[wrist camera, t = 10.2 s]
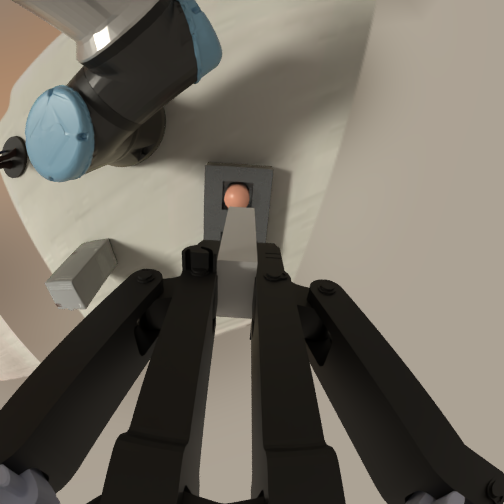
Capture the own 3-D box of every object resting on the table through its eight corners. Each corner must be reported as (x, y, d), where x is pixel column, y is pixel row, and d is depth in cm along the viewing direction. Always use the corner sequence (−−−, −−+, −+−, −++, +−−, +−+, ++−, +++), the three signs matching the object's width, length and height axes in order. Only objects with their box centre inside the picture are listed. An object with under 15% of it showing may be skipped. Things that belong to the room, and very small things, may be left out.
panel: (206, 295, 58) (204, 305, 55) (208, 162, 45) (205, 165, 42) (257, 298, 59) (258, 308, 55) (271, 166, 46) (273, 169, 43)
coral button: (225, 203, 47) (223, 210, 44) (226, 181, 46) (224, 186, 42) (248, 205, 48) (248, 211, 44) (250, 183, 46) (250, 188, 42)
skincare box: (109, 237, 52) (71, 276, 37) (119, 266, 55) (87, 311, 41) (80, 242, 52) (41, 280, 38) (90, 270, 55) (57, 311, 41)
